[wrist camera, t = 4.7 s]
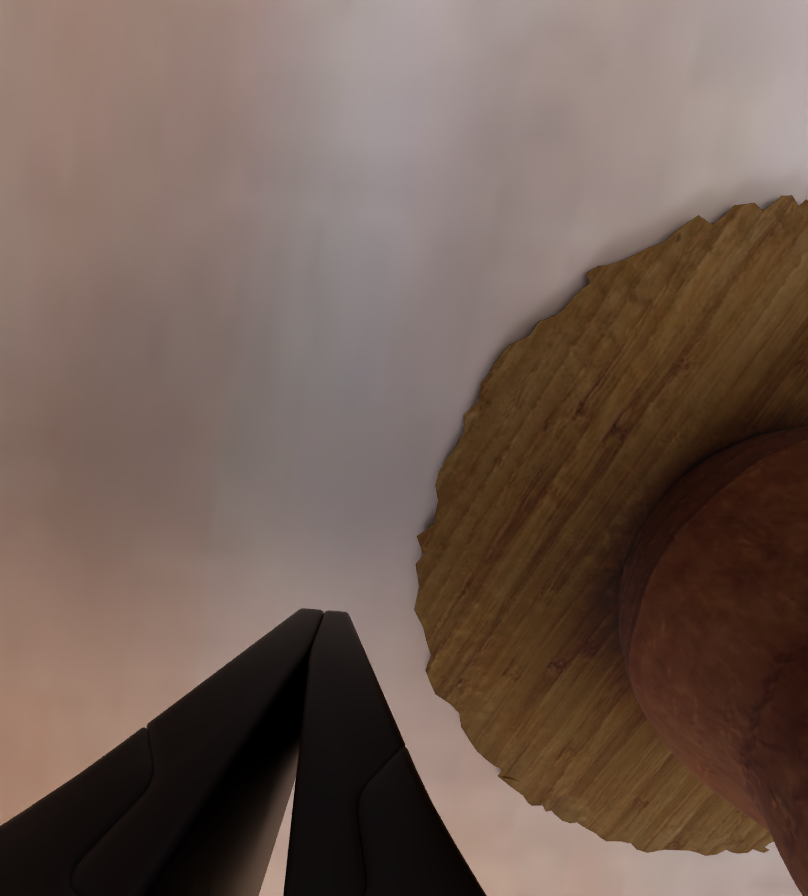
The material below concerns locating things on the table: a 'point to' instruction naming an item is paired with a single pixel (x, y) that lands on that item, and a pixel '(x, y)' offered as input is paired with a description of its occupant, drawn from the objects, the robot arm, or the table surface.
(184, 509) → the table surface
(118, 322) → the table surface
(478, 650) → the ceramic pot
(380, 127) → the table surface
